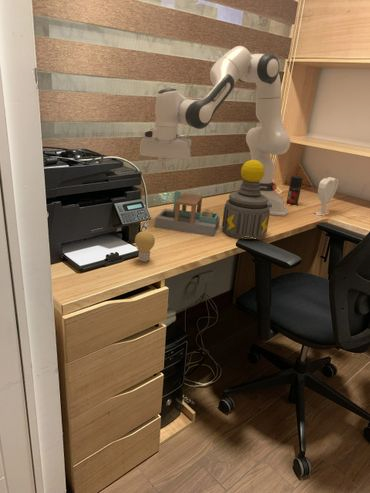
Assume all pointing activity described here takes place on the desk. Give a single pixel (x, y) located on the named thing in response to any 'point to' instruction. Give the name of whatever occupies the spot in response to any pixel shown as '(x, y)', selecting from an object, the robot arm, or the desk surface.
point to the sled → (197, 215)
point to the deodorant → (294, 190)
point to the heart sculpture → (326, 192)
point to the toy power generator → (247, 205)
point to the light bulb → (144, 244)
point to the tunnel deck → (186, 223)
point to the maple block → (207, 213)
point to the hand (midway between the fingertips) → (164, 169)
